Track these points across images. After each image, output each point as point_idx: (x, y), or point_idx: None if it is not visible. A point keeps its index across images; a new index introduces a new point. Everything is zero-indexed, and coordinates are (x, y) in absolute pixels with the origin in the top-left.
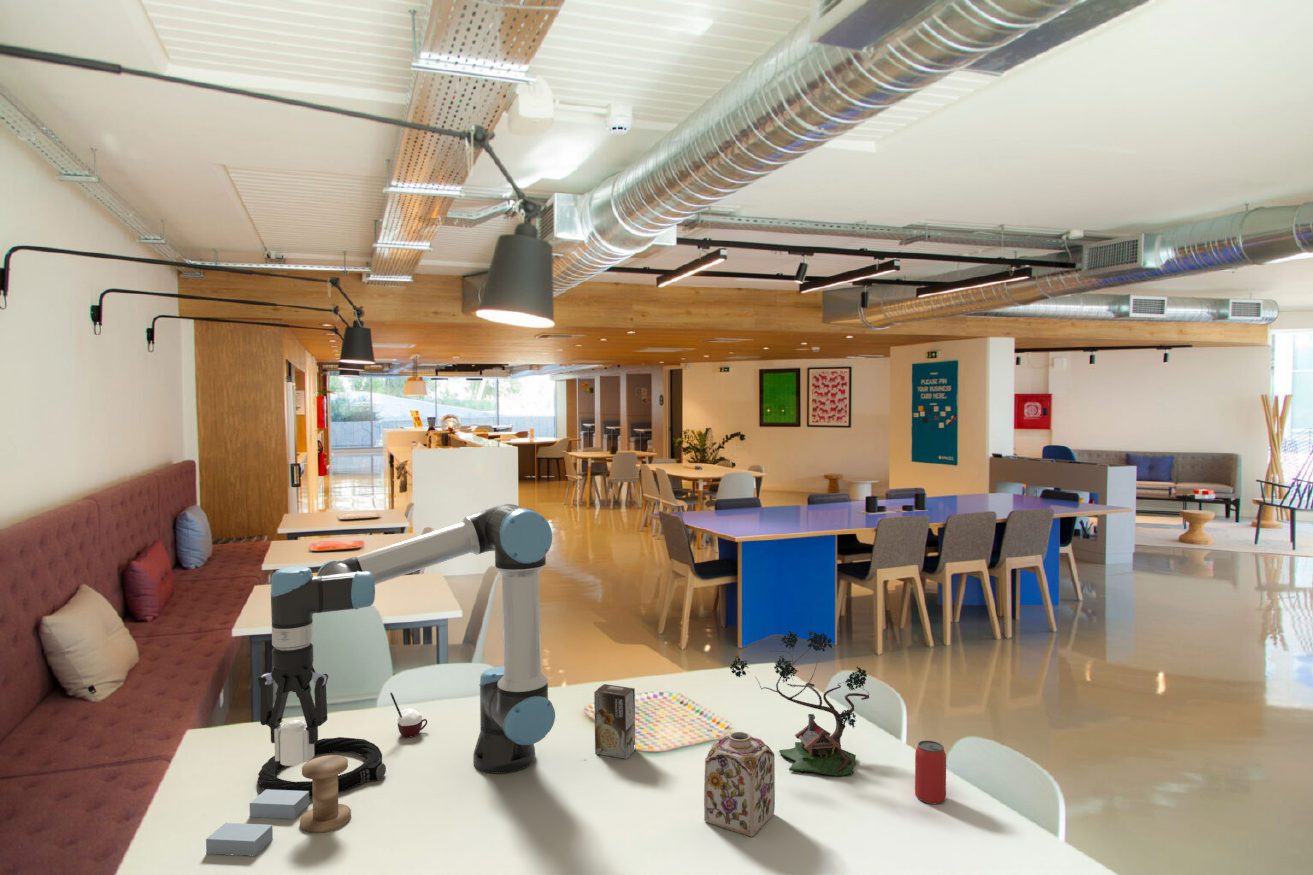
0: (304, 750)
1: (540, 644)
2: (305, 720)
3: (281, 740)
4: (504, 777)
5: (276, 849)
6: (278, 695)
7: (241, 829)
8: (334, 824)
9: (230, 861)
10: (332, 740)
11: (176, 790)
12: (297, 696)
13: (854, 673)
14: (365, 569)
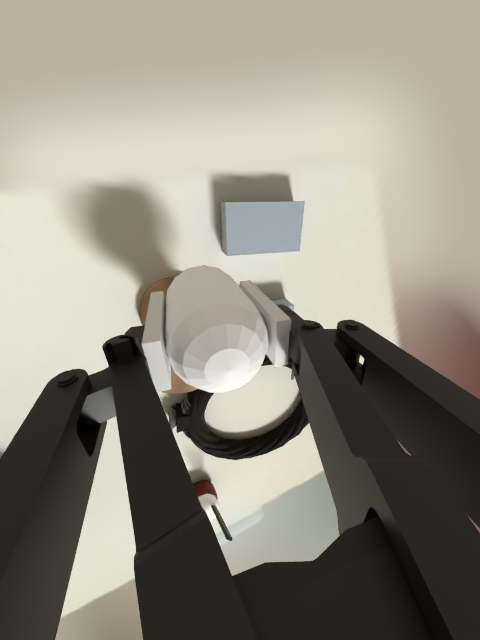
0: (159, 304)
1: None
2: (147, 372)
3: (241, 294)
4: None
5: (199, 225)
6: (396, 461)
7: (266, 235)
8: (145, 294)
9: (248, 183)
10: (272, 446)
11: (389, 330)
12: (203, 519)
13: None
14: None
